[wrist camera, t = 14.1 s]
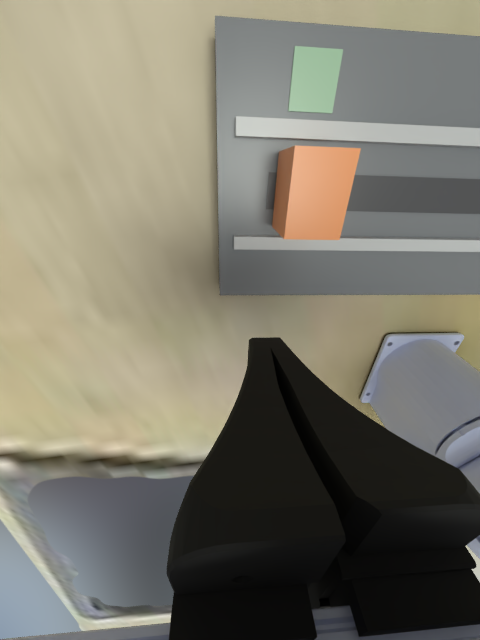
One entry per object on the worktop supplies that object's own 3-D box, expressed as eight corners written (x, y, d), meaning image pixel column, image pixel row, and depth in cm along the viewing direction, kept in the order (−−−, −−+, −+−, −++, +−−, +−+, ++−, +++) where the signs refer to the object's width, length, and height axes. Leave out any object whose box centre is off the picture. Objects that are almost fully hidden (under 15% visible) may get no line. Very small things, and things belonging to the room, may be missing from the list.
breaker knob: (317, 227, 16) (339, 240, 13) (272, 226, 16) (284, 239, 13) (330, 153, 14) (361, 148, 11) (279, 151, 14) (295, 145, 11)
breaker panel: (468, 284, 22) (496, 297, 19) (219, 284, 20) (219, 298, 18) (590, 64, 14) (658, 43, 12) (215, 36, 13) (214, 8, 11)
